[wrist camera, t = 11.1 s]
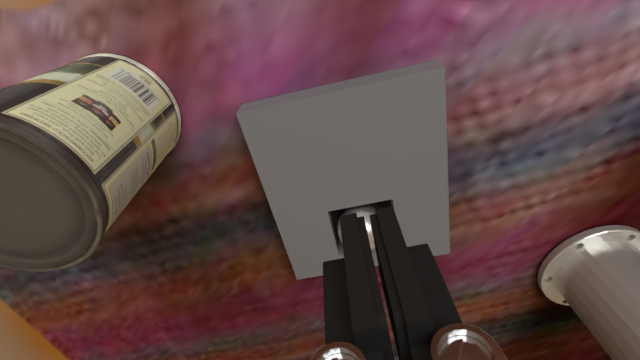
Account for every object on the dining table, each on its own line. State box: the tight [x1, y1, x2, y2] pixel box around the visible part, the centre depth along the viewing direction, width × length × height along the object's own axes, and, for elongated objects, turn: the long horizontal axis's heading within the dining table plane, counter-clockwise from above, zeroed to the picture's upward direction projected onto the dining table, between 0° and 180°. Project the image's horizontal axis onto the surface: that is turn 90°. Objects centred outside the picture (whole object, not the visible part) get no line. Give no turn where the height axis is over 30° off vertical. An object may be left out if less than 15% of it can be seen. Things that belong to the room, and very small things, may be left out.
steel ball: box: [337, 205, 376, 252], centre depth 34 cm, size 5×5×5 cm
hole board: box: [236, 60, 450, 280], centre depth 33 cm, size 17×20×2 cm
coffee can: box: [0, 54, 181, 272], centre depth 24 cm, size 10×10×14 cm
